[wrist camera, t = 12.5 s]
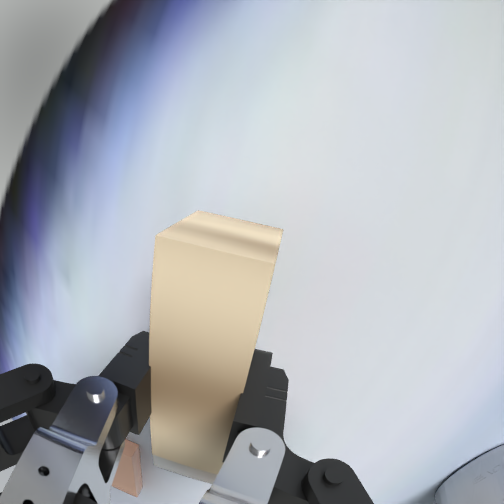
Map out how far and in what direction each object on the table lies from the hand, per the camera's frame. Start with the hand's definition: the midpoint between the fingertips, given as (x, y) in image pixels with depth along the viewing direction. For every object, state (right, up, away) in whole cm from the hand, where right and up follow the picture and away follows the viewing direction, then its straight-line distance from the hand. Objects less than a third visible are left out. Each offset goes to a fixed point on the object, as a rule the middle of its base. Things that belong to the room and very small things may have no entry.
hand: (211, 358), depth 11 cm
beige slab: (0, -2, +1) cm, 2 cm away
